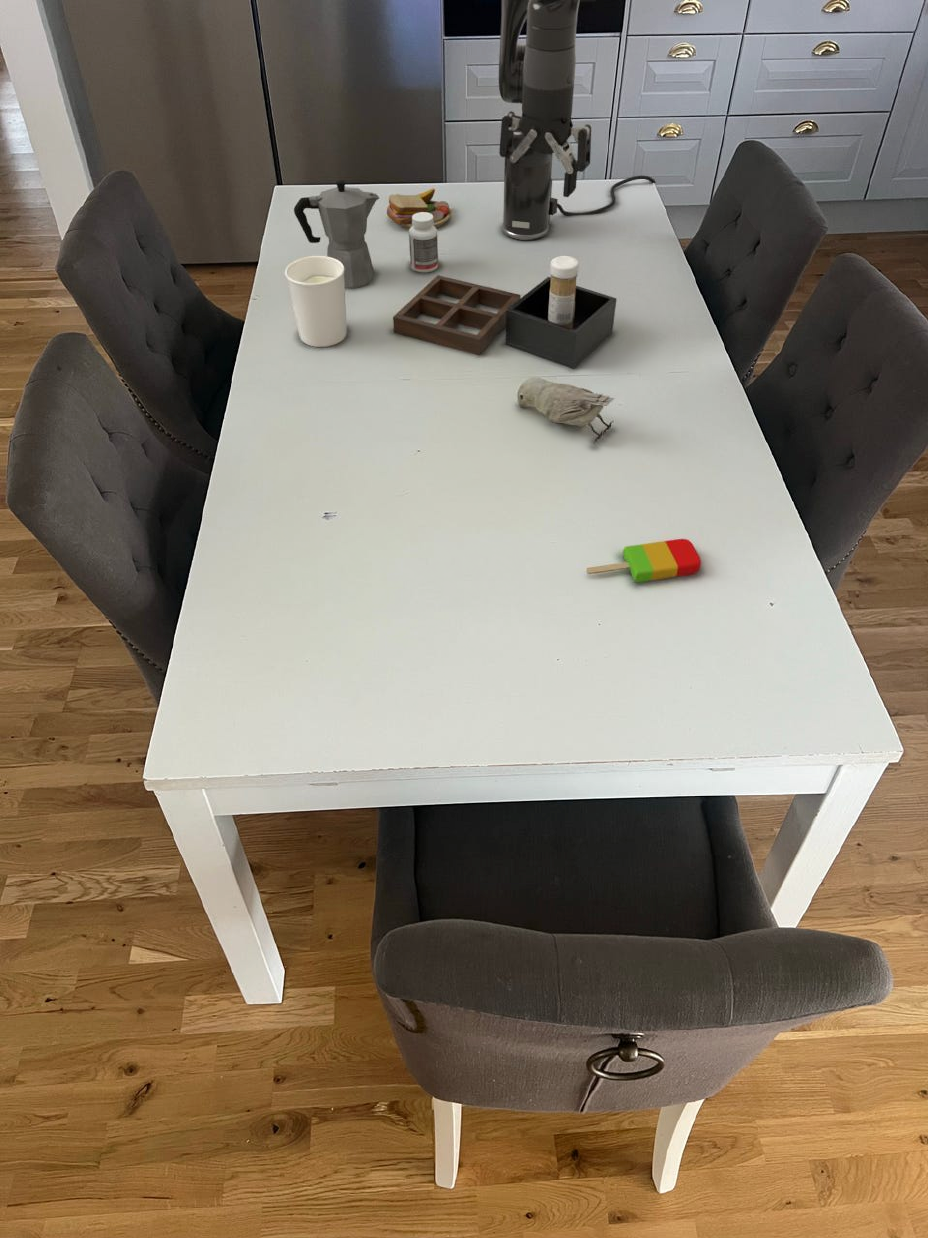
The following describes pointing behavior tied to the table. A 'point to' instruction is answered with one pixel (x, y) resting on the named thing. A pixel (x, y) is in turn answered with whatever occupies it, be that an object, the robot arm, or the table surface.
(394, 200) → the toy sandwich meal
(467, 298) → the wooden cubby shelf
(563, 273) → the sprinkles bottle
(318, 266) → the candle holder
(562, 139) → the robot arm
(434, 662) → the table surface
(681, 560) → the popsicle
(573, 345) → the open box
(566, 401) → the decorative bird
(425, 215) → the pill bottle
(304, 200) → the coffeepot
